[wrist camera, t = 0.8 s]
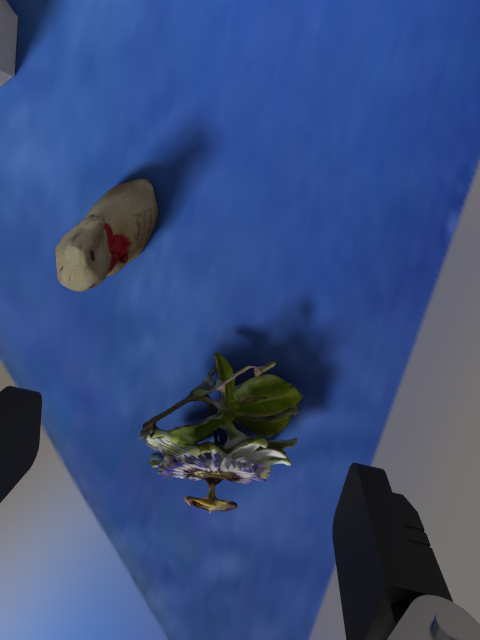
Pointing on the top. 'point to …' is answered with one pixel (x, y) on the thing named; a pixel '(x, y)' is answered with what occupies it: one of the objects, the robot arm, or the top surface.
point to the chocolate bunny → (107, 235)
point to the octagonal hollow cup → (7, 41)
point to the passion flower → (227, 432)
